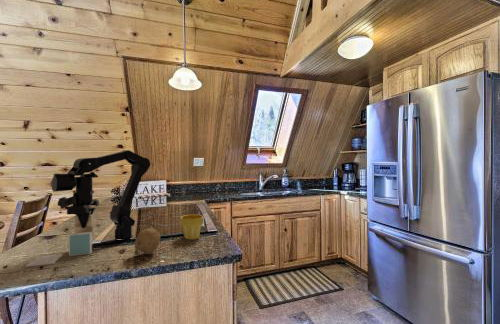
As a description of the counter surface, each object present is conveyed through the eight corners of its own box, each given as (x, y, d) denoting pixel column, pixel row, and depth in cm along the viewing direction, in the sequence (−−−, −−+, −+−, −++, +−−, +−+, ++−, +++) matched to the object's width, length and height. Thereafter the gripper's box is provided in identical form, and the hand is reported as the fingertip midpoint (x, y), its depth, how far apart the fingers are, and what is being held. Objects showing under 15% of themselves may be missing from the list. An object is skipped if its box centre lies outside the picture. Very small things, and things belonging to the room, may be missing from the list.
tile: (91, 251, 100) (91, 231, 100) (90, 253, 98) (90, 233, 98) (71, 253, 98) (71, 233, 98) (69, 255, 96) (69, 235, 96)
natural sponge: (134, 260, 91) (134, 233, 91) (135, 252, 99) (134, 227, 99) (161, 256, 94) (160, 230, 94) (159, 248, 103) (159, 224, 103)
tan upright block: (94, 235, 106) (94, 213, 106) (90, 238, 101) (90, 216, 101) (78, 236, 104) (77, 214, 104) (73, 240, 99) (73, 217, 99)
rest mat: (62, 255, 96) (62, 254, 96) (53, 263, 88) (53, 262, 88) (37, 258, 94) (37, 256, 94) (25, 266, 86) (25, 265, 86)
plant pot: (201, 233, 124) (201, 213, 124) (204, 239, 114) (204, 218, 114) (180, 235, 121) (179, 215, 121) (181, 242, 111) (181, 220, 111)
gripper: (70, 187, 109) (70, 223, 109) (50, 192, 91) (50, 235, 91) (99, 186, 112) (99, 221, 112) (85, 191, 94) (85, 233, 94)
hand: (84, 227), depth 102 cm, fingers closed on tan upright block
